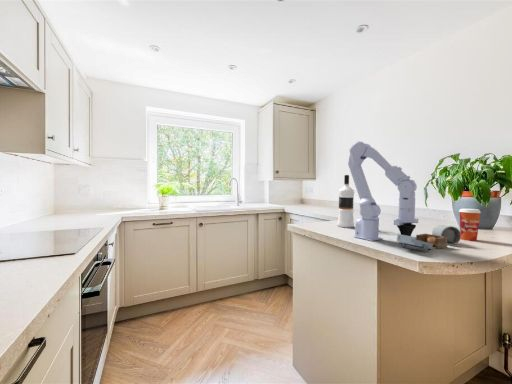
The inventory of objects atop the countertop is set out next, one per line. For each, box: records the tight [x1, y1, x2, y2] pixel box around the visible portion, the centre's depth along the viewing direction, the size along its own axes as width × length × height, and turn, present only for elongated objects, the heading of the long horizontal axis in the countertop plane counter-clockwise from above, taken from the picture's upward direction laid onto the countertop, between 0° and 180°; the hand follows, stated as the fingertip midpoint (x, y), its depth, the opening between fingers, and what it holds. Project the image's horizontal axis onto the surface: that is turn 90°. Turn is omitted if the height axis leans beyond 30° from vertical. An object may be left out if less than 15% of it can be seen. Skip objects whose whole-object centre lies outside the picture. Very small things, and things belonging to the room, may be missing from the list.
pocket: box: [415, 233, 448, 250], centre depth 99 cm, size 8×7×4 cm
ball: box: [427, 237, 435, 247], centre depth 99 cm, size 4×4×4 cm
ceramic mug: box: [431, 224, 462, 246], centre depth 105 cm, size 11×8×8 cm
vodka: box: [336, 174, 355, 229], centre depth 142 cm, size 9×9×30 cm
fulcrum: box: [402, 243, 429, 253], centre depth 93 cm, size 8×2×3 cm, turn 30°
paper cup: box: [458, 208, 482, 242], centre depth 111 cm, size 8×8×14 cm
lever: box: [396, 233, 434, 250], centre depth 95 cm, size 12×14×3 cm
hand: (405, 241), depth 101 cm, fingers closed
